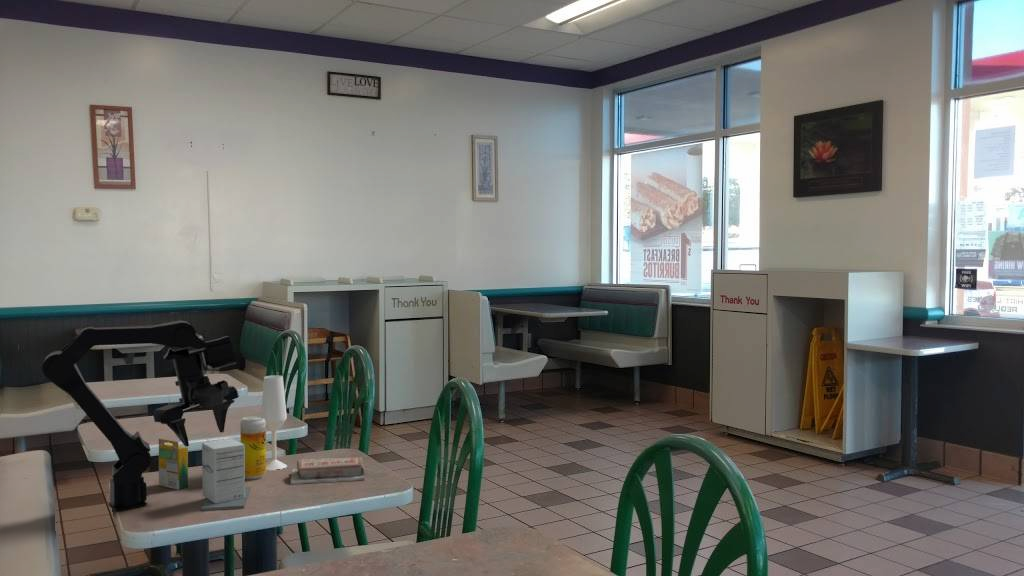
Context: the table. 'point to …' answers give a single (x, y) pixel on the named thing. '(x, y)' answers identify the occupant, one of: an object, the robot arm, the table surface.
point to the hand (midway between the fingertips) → (204, 439)
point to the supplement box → (223, 470)
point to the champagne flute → (274, 413)
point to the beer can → (254, 446)
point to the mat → (226, 503)
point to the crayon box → (173, 465)
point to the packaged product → (328, 470)
